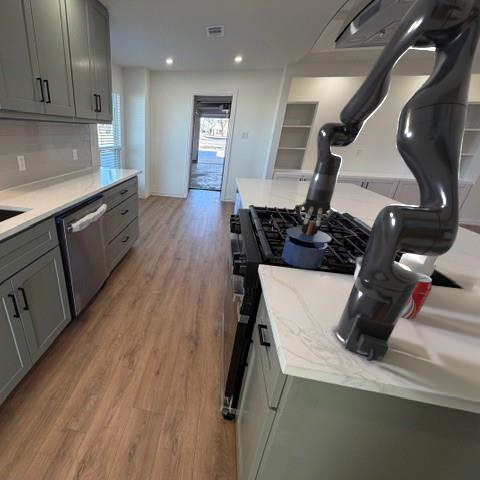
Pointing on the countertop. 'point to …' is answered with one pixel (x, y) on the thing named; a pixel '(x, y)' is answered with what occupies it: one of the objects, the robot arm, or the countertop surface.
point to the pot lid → (308, 234)
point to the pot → (303, 253)
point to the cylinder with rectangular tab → (419, 263)
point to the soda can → (418, 296)
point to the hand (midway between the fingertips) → (308, 233)
